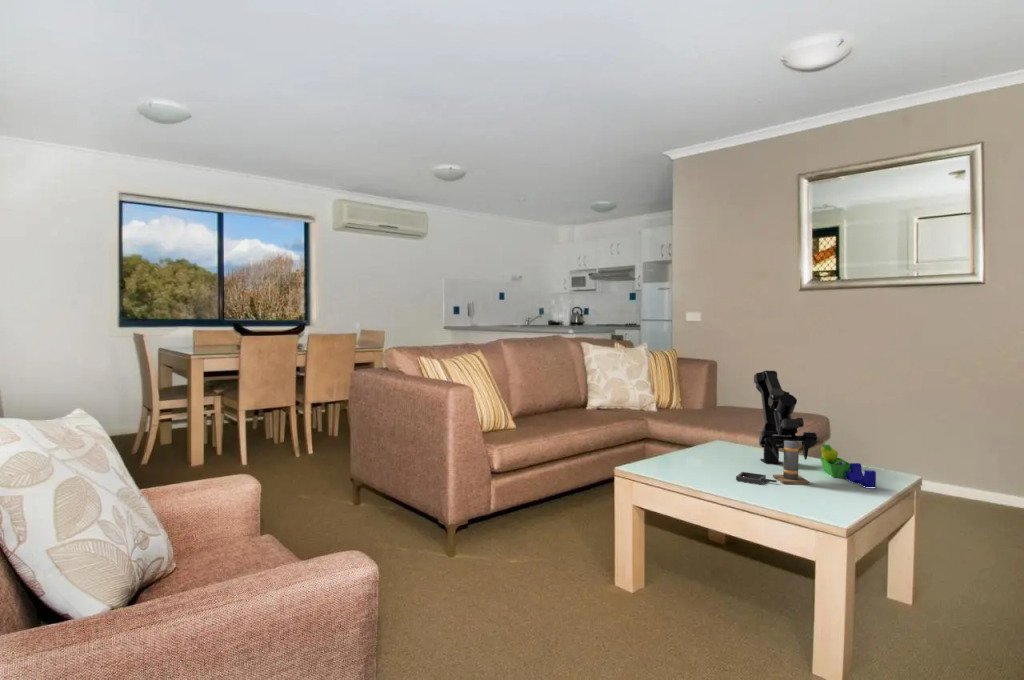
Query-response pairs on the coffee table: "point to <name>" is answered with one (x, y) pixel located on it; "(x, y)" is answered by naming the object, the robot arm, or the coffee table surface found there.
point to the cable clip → (861, 475)
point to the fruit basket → (833, 462)
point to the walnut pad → (788, 481)
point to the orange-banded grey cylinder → (791, 460)
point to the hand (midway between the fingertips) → (792, 458)
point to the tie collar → (758, 480)
